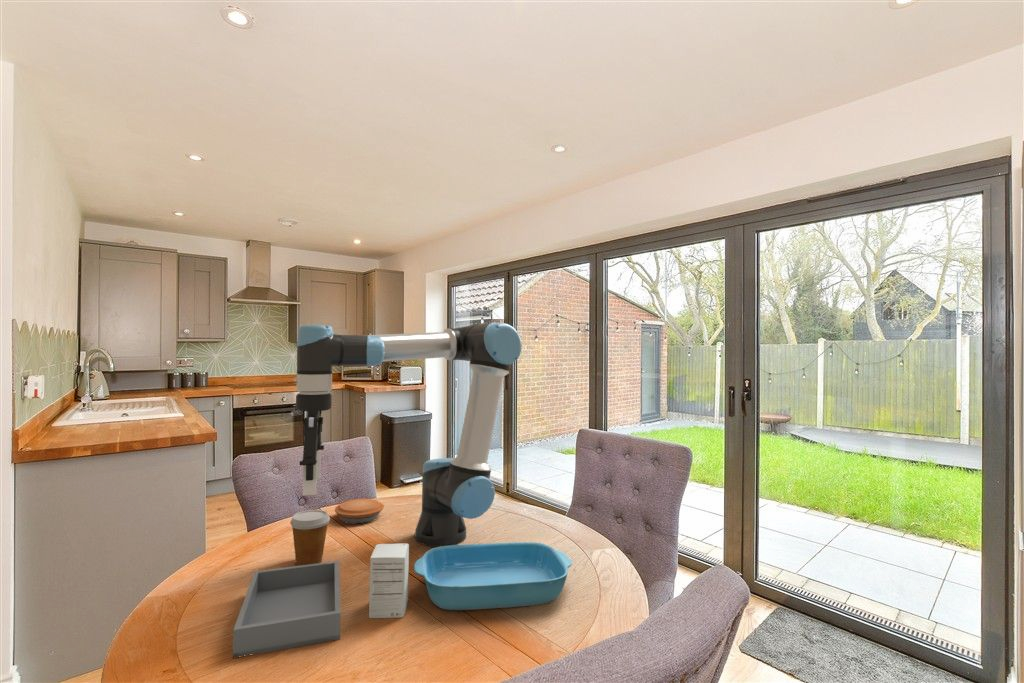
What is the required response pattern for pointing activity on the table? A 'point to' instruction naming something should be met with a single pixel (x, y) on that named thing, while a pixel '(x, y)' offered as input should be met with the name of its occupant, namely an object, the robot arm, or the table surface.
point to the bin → (289, 609)
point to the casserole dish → (493, 575)
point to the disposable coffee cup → (309, 535)
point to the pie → (359, 510)
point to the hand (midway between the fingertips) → (312, 486)
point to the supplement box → (388, 581)
